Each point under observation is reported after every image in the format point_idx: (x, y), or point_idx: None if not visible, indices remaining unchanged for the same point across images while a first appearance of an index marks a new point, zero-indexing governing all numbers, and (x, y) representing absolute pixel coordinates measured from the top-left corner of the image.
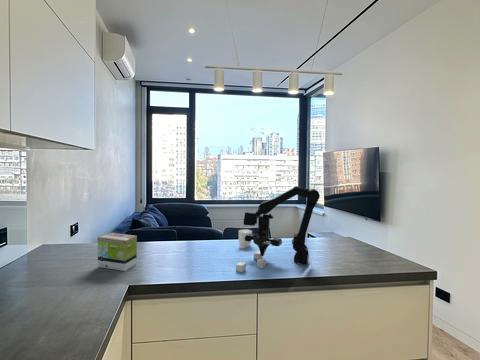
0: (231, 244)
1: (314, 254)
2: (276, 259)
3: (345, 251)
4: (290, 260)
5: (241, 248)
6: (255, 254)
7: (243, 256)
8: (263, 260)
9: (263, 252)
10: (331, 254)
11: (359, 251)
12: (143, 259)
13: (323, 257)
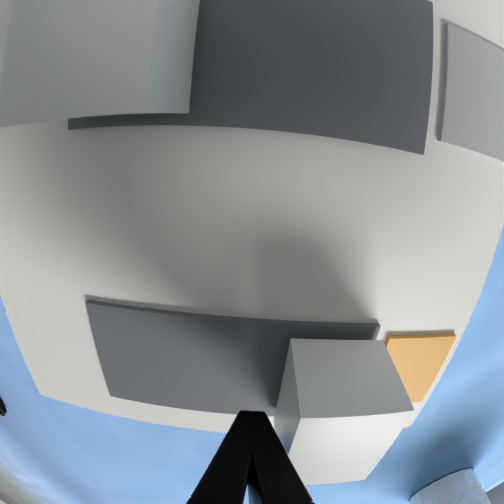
0: (500, 467)
1: (52, 494)
2: (149, 443)
3: (19, 499)
4: (58, 437)
5: (464, 469)
6: (379, 397)
7: (476, 384)
8: (24, 20)
9: (214, 467)
10: (18, 487)
11: (2, 493)
12: None
13: (6, 467)
